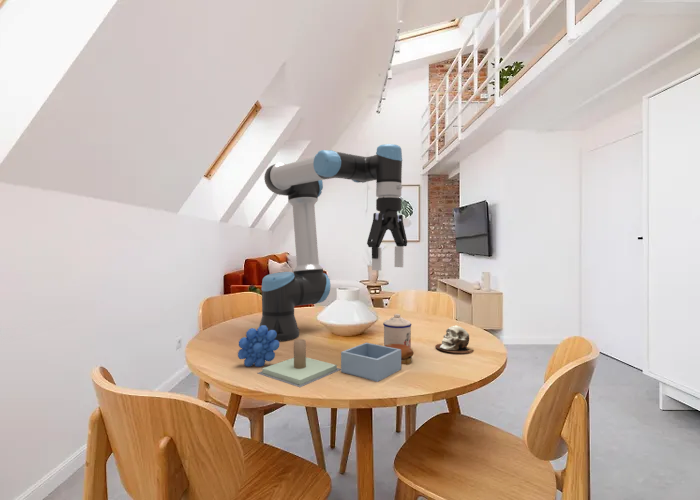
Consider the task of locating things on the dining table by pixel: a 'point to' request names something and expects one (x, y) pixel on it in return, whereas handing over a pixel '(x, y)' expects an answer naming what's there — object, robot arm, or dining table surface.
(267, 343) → the blue bumpy cluster
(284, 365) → the lid
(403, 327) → the teacup with lid
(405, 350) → the burger
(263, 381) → the dining table surface
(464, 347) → the skull
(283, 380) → the mat
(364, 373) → the open box
